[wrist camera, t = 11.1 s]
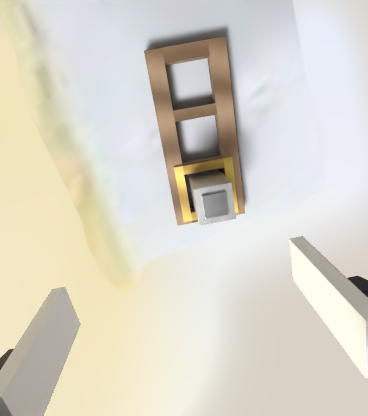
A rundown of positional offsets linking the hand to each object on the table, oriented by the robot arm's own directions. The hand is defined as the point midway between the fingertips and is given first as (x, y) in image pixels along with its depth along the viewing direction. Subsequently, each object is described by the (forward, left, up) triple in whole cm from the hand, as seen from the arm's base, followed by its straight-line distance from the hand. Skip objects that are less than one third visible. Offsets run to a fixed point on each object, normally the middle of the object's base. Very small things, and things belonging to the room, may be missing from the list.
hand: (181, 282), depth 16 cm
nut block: (+2, +5, -26) cm, 27 cm away
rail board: (-5, +5, -26) cm, 27 cm away
